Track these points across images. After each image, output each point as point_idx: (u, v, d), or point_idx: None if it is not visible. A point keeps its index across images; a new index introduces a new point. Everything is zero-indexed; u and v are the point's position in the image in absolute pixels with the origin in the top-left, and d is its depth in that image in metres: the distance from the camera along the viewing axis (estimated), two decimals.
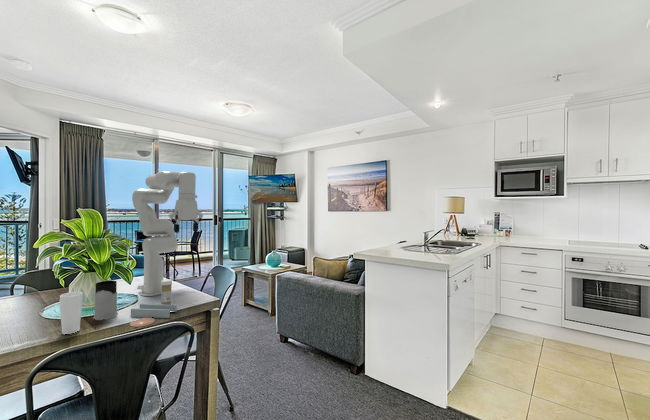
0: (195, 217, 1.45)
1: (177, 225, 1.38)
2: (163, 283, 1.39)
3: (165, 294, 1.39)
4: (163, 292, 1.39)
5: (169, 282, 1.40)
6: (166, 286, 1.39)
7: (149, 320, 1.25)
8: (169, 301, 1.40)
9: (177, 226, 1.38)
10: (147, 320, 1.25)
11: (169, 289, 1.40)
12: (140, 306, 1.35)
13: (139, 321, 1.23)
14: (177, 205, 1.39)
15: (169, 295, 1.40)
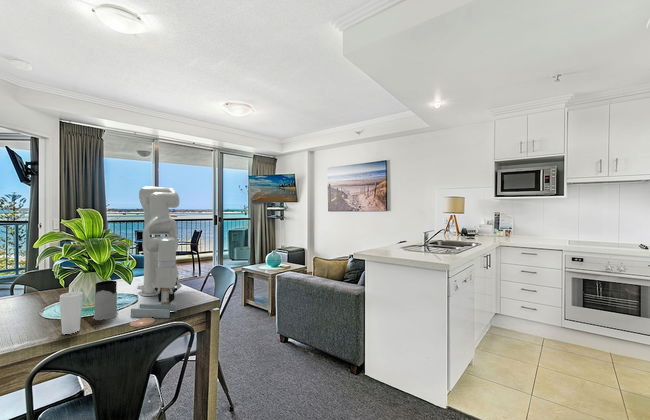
0: None
1: None
2: None
3: (165, 294, 1.39)
4: (163, 292, 1.39)
5: None
6: None
7: (149, 320, 1.25)
8: None
9: None
10: (147, 320, 1.25)
11: (169, 289, 1.40)
12: (140, 306, 1.35)
13: (139, 321, 1.23)
14: (176, 272, 1.41)
15: None
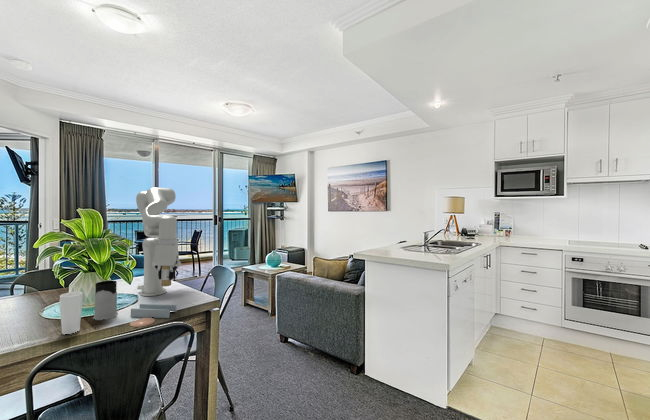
0: None
1: None
2: None
3: (165, 271, 1.39)
4: (163, 270, 1.39)
5: None
6: None
7: (149, 320, 1.25)
8: None
9: None
10: (147, 320, 1.25)
11: (169, 267, 1.40)
12: (140, 306, 1.35)
13: (139, 321, 1.23)
14: (177, 250, 1.41)
15: None
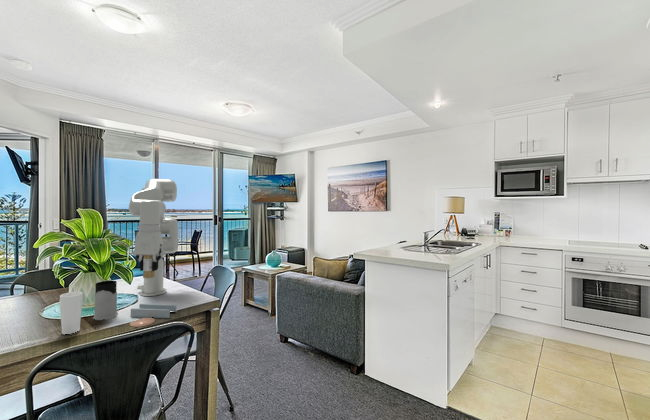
0: None
1: None
2: None
3: (148, 261, 1.24)
4: (145, 260, 1.24)
5: None
6: None
7: (149, 320, 1.25)
8: None
9: None
10: (147, 320, 1.25)
11: (152, 256, 1.26)
12: (140, 306, 1.35)
13: (139, 321, 1.23)
14: (160, 238, 1.26)
15: None
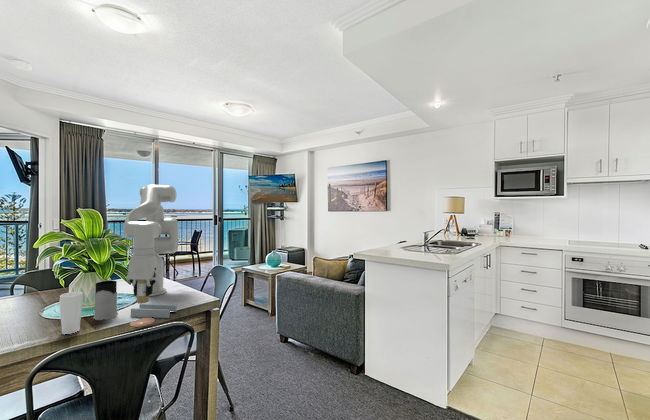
0: None
1: None
2: None
3: (141, 286, 1.21)
4: (139, 285, 1.21)
5: None
6: None
7: (149, 320, 1.25)
8: None
9: None
10: (147, 320, 1.25)
11: (146, 281, 1.22)
12: (140, 306, 1.35)
13: (139, 321, 1.23)
14: (155, 261, 1.23)
15: None
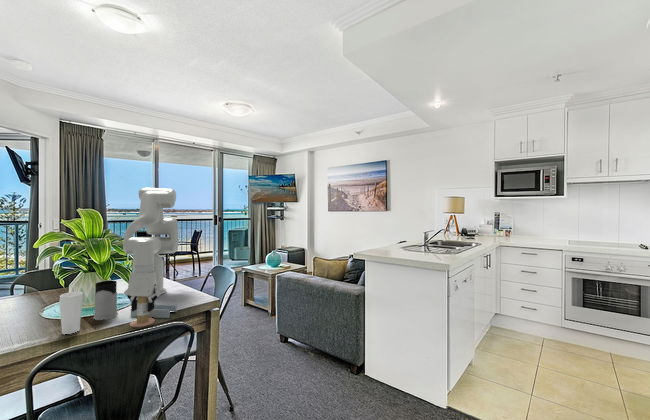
0: None
1: None
2: None
3: (141, 306, 1.21)
4: (139, 304, 1.21)
5: None
6: (142, 297, 1.21)
7: (149, 320, 1.25)
8: (146, 314, 1.23)
9: None
10: None
11: (146, 300, 1.22)
12: None
13: None
14: (154, 278, 1.23)
15: (146, 307, 1.22)
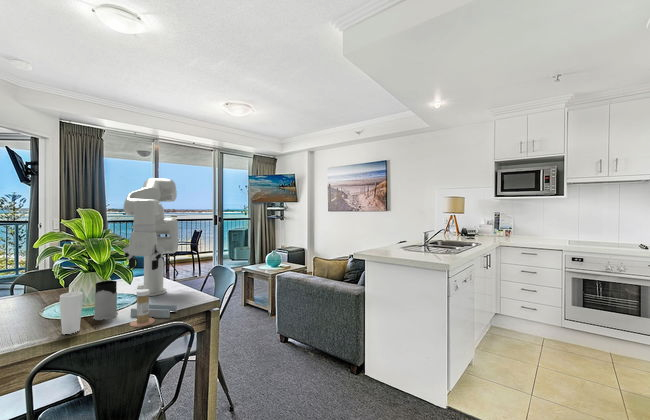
0: None
1: None
2: (139, 294, 1.21)
3: (141, 306, 1.21)
4: (139, 304, 1.21)
5: (146, 292, 1.22)
6: (142, 297, 1.21)
7: (149, 320, 1.25)
8: (146, 314, 1.23)
9: None
10: None
11: (146, 300, 1.22)
12: None
13: None
14: (155, 238, 1.23)
15: (146, 307, 1.22)
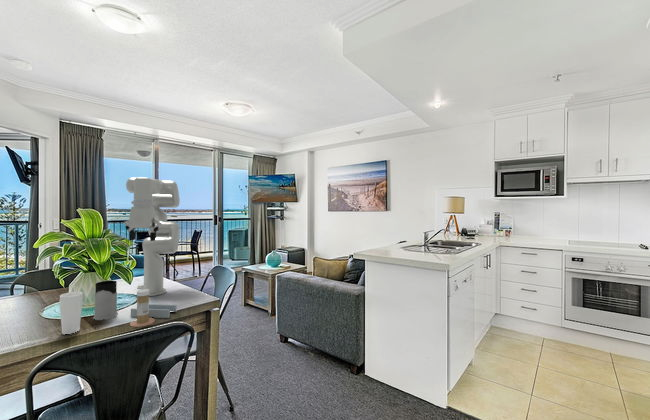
0: None
1: None
2: (139, 294, 1.21)
3: (141, 306, 1.21)
4: (139, 304, 1.21)
5: (146, 292, 1.22)
6: (142, 297, 1.21)
7: (149, 320, 1.25)
8: (146, 314, 1.23)
9: None
10: None
11: (146, 300, 1.22)
12: None
13: None
14: (153, 213, 1.36)
15: (146, 307, 1.22)
